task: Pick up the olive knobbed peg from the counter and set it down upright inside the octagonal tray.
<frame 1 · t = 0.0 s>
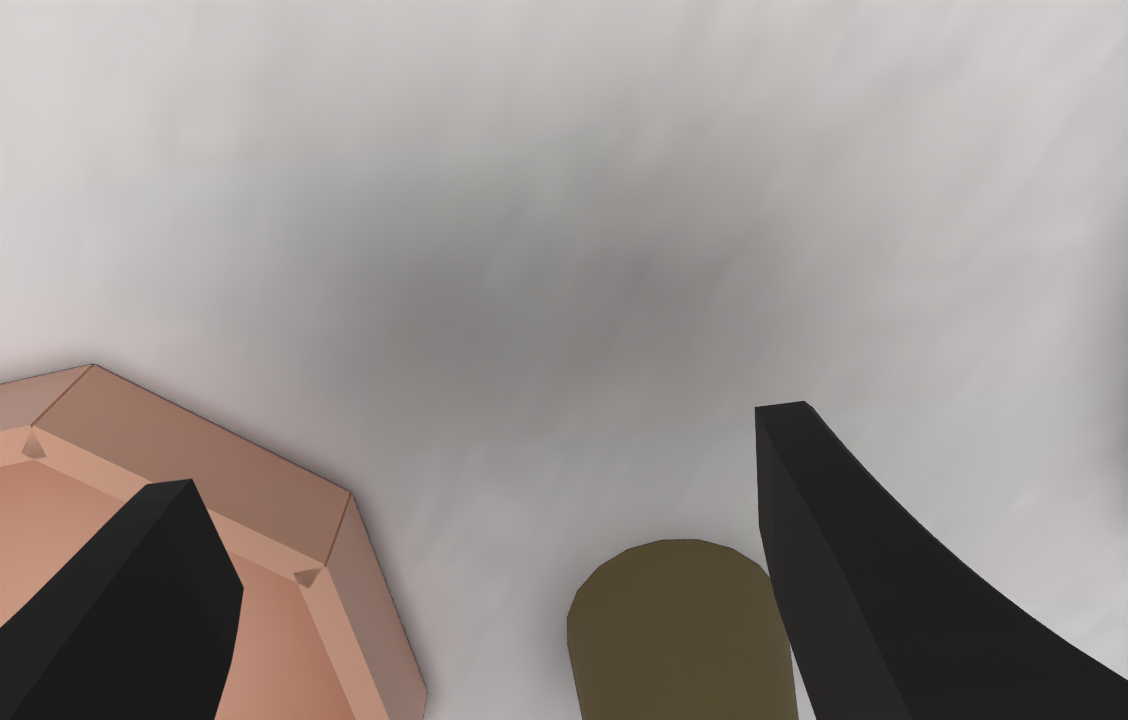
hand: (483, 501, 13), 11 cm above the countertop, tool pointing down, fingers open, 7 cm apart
octagonal tray: (104, 653, 27), on the countertop
olive knobbed peg: (675, 625, 27), on the countertop
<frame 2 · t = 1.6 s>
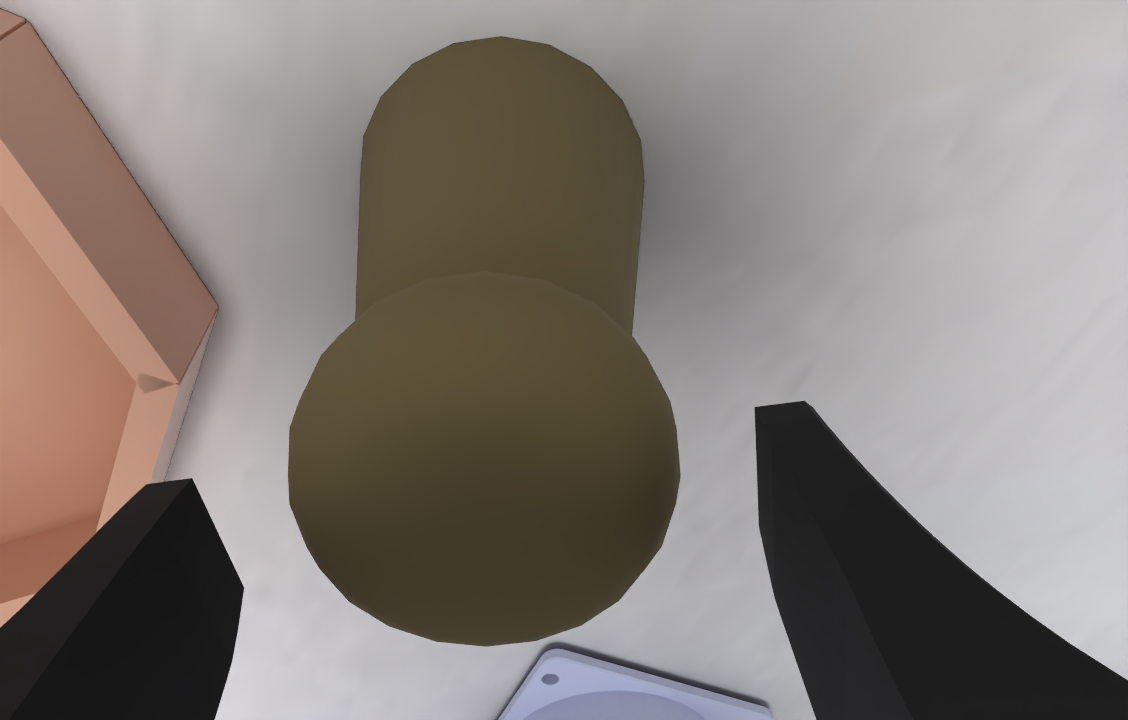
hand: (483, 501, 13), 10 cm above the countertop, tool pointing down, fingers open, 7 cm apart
olive knobbed peg: (503, 176, 21), on the countertop
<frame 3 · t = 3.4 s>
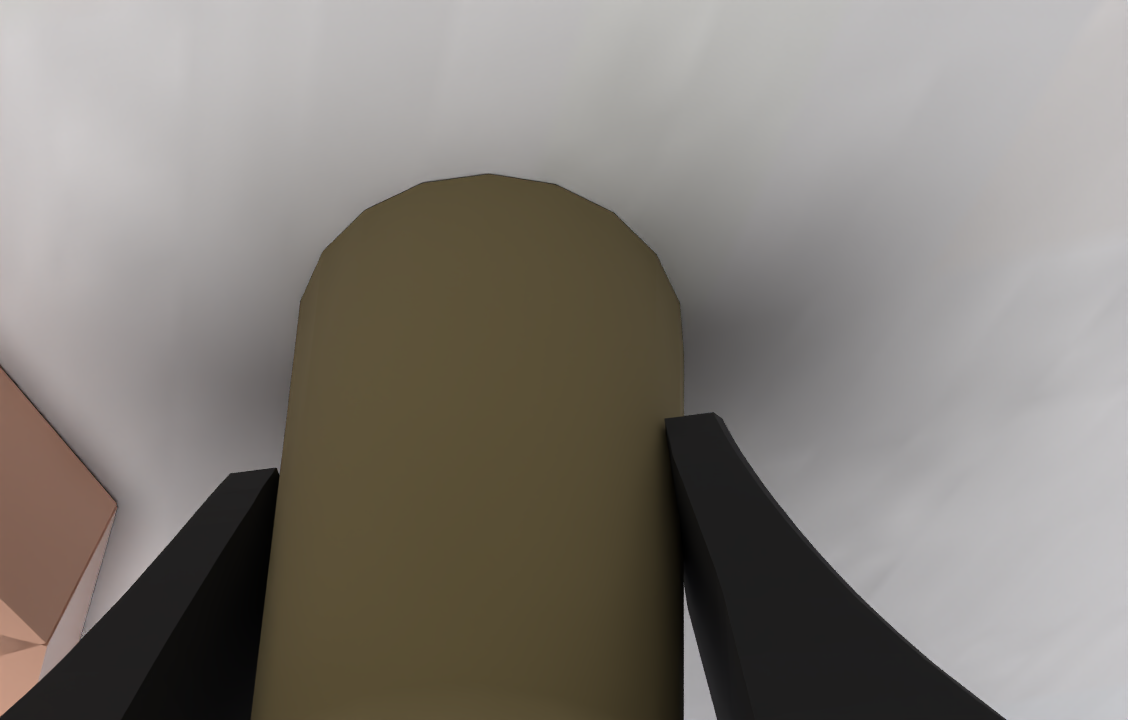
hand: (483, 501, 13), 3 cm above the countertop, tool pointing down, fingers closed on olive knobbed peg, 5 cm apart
olive knobbed peg: (492, 346, 16), on the countertop, touching gripper
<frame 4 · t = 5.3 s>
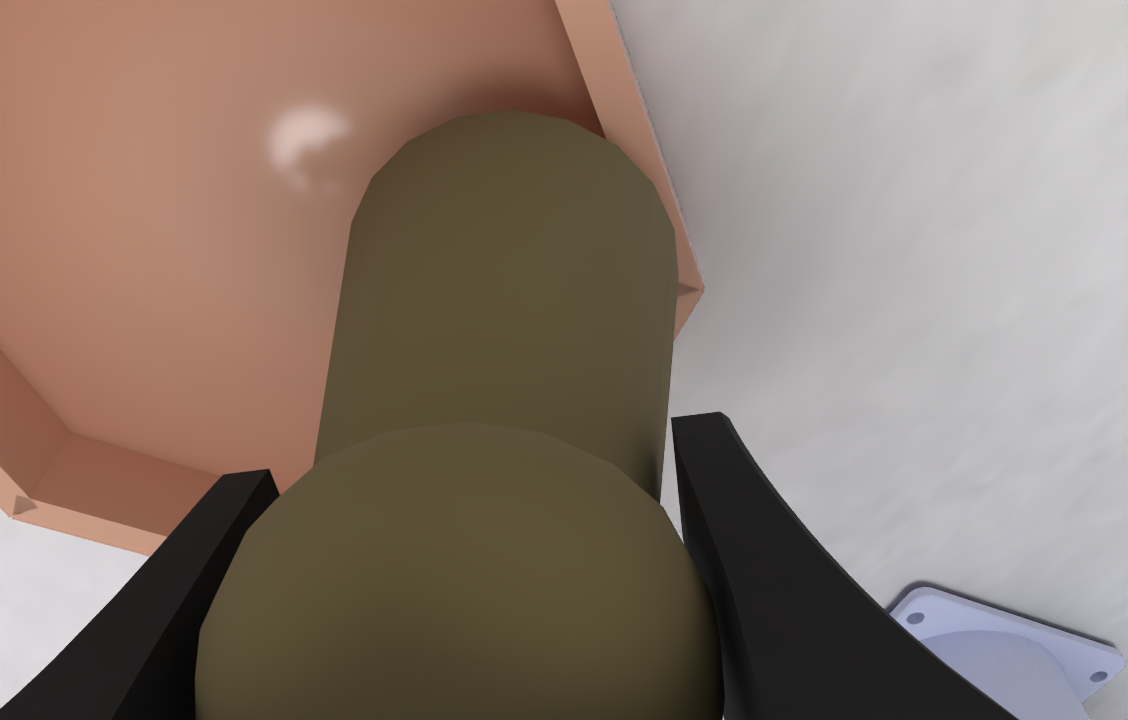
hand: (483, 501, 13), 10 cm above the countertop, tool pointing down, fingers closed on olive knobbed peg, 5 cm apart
octagonal tray: (281, 214, 22), on the countertop
olive knobbed peg: (513, 268, 18), point 4 cm above the countertop, touching gripper
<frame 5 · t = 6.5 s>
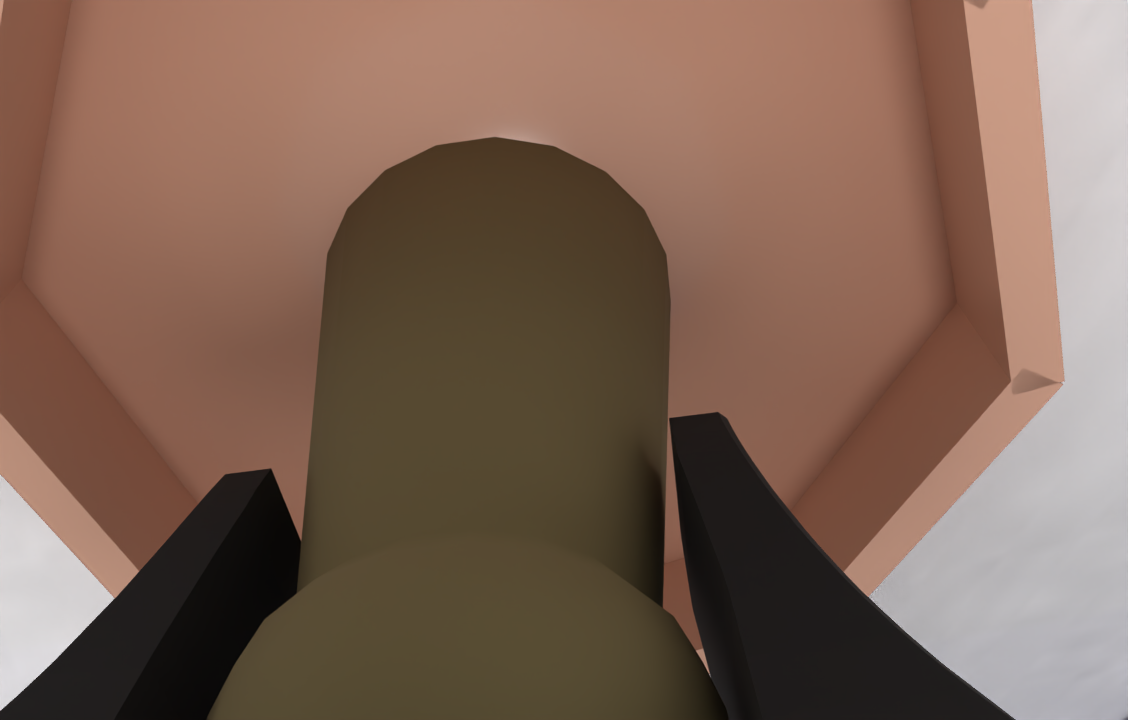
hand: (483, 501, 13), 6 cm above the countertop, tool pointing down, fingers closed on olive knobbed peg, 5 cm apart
octagonal tray: (500, 274, 18), on the countertop
olive knobbed peg: (499, 295, 17), resting on octagonal tray, touching gripper
when the fingers open (6 cm above the countertop, at t = 7.5 s): olive knobbed peg stays where it is, resting on octagonal tray.
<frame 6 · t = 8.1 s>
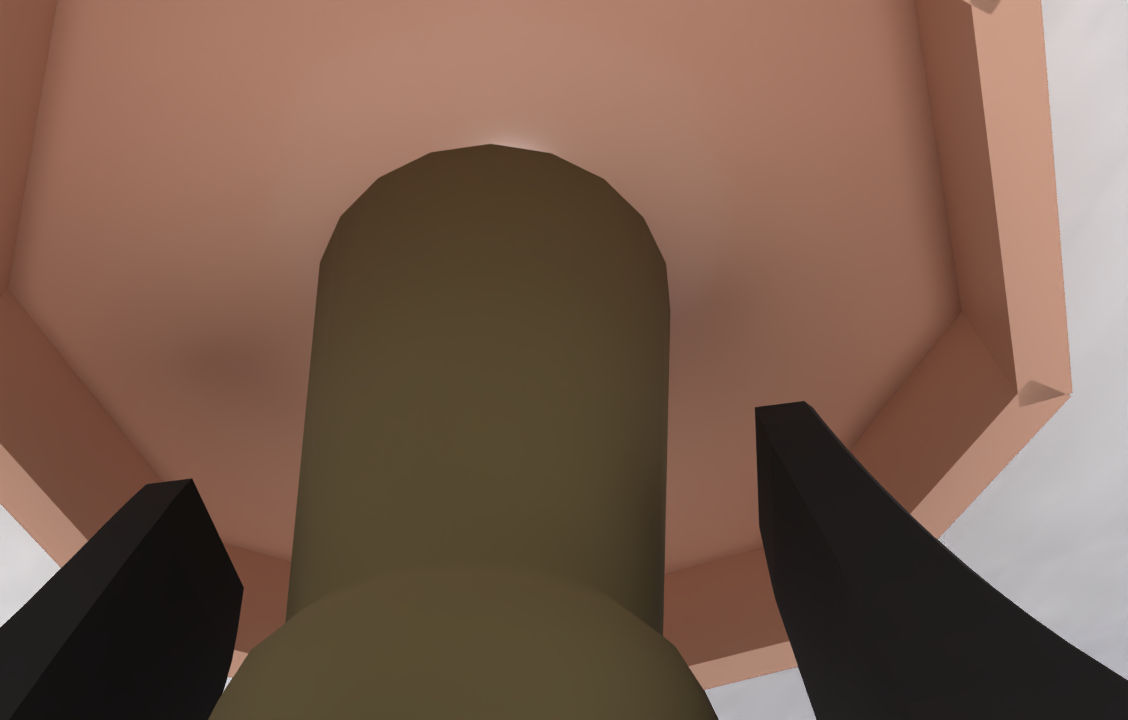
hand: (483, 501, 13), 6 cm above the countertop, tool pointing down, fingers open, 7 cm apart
octagonal tray: (496, 282, 17), on the countertop
olive knobbed peg: (495, 304, 17), resting on octagonal tray
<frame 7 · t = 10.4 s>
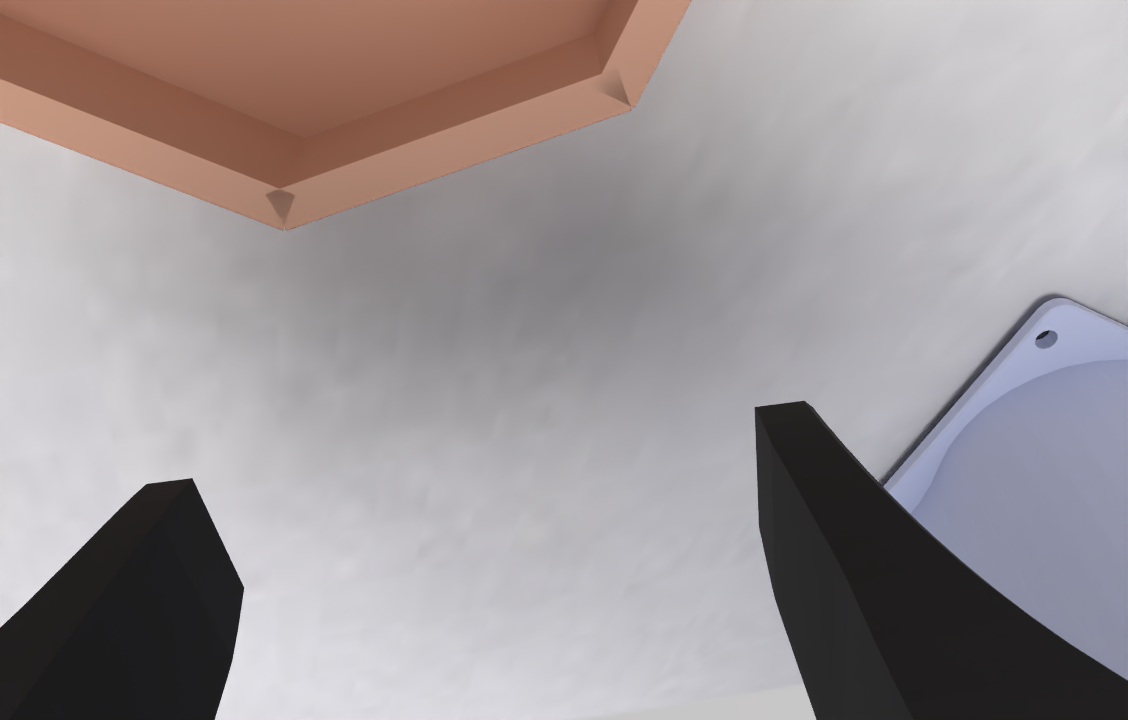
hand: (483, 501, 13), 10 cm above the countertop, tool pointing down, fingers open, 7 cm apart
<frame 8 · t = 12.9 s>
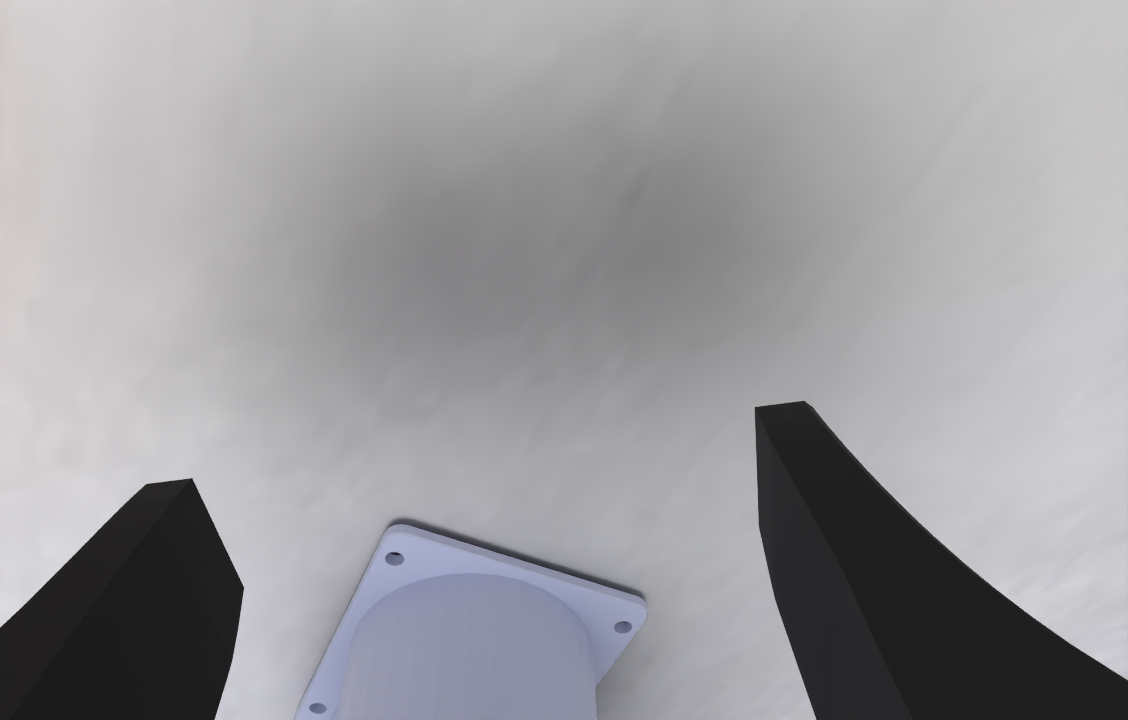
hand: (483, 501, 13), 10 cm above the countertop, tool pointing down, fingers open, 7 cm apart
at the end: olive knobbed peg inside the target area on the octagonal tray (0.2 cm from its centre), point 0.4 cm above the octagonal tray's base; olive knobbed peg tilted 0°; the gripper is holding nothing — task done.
